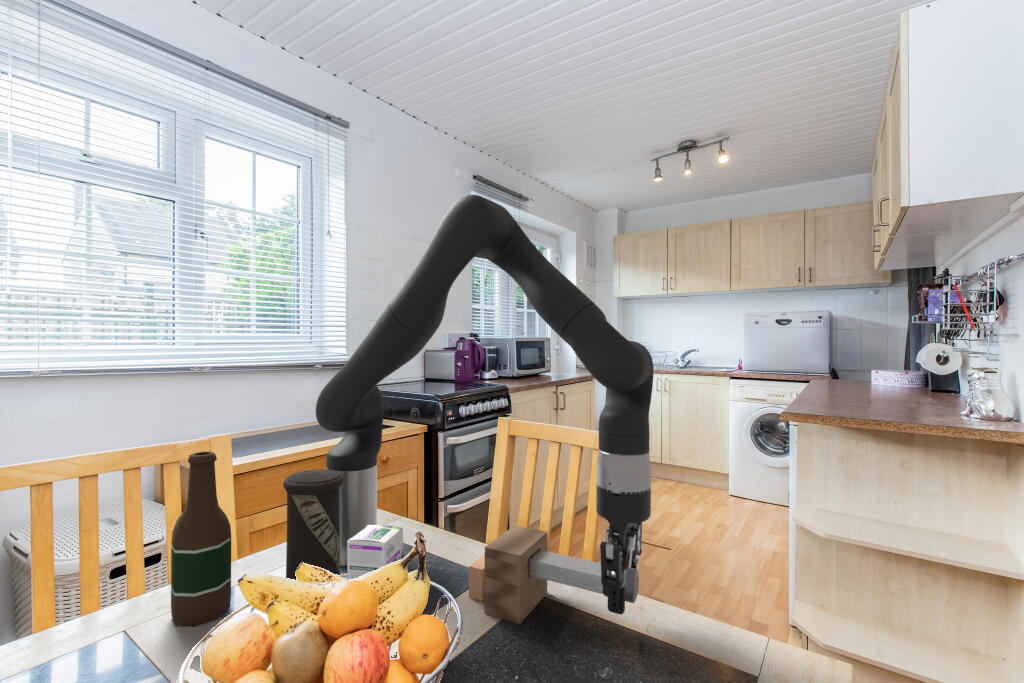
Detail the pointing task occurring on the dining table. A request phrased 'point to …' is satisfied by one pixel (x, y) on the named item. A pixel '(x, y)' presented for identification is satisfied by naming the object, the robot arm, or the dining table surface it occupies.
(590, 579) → the shaft
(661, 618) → the dining table surface
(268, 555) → the dining table surface
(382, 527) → the syrup box
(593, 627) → the dining table surface
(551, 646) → the dining table surface
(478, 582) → the block
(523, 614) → the bearing block
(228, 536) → the beer bottle
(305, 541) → the container
